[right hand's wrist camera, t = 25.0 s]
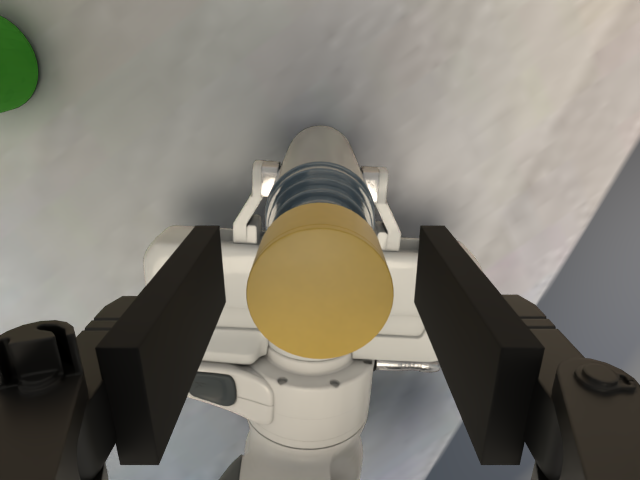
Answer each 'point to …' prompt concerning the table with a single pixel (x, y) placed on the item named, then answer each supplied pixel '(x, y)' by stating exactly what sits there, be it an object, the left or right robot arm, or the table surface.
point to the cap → (319, 282)
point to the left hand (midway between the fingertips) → (320, 165)
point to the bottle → (320, 176)
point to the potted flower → (15, 67)
